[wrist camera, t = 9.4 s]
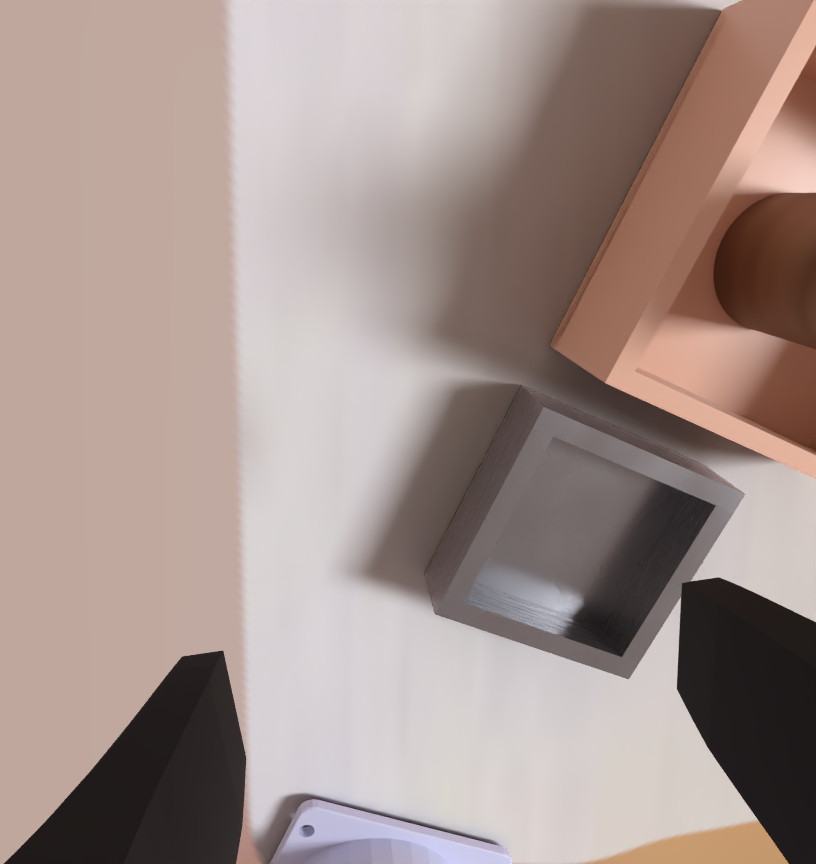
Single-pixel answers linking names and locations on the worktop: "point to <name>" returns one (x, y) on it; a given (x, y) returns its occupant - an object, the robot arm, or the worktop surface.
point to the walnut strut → (771, 268)
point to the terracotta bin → (710, 242)
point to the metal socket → (576, 536)
